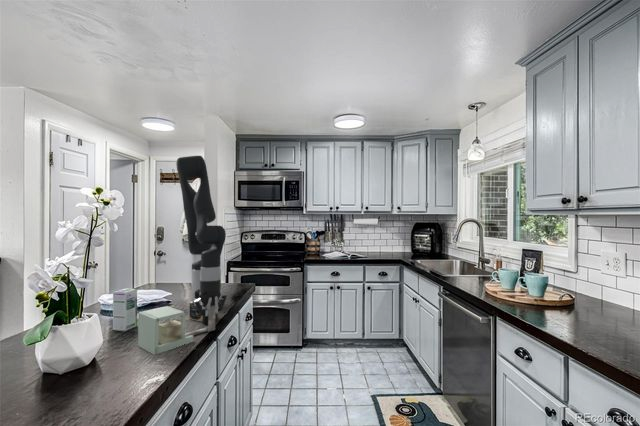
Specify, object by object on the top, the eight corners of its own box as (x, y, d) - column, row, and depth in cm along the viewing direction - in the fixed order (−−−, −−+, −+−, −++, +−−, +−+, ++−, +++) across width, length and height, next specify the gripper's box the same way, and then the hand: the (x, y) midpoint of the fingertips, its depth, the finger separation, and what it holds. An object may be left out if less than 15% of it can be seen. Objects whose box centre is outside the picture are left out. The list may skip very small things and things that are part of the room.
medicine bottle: (189, 319, 133) (189, 290, 133) (202, 314, 139) (203, 286, 140) (201, 321, 130) (201, 292, 130) (214, 317, 136) (215, 288, 136)
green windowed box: (176, 334, 116) (176, 303, 116) (193, 341, 109) (193, 309, 109) (138, 345, 105) (138, 312, 105) (154, 354, 99) (154, 319, 99)
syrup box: (125, 331, 118) (126, 292, 119) (112, 330, 120) (112, 291, 120) (137, 326, 124) (137, 288, 124) (124, 325, 125) (124, 287, 125)
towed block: (208, 327, 124) (208, 303, 124) (217, 330, 120) (218, 306, 120) (157, 342, 108) (158, 315, 108) (166, 346, 104) (166, 319, 105)
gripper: (220, 274, 129) (219, 318, 128) (187, 279, 118) (186, 327, 117) (232, 277, 124) (231, 321, 124) (199, 282, 113) (198, 331, 113)
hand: (209, 324), depth 121 cm, fingers closed on towed block, 3 cm apart
